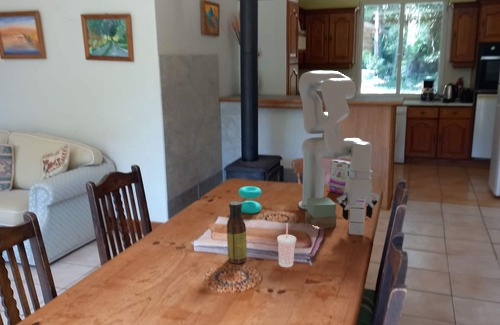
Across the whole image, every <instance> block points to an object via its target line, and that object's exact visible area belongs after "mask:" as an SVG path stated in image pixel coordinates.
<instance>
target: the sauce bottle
mask: <svg viewBox="0 0 500 325" xmlns="http://www.w3.org/2000/svg"><path fill="white" fill-rule="evenodd" d="M228 204H229V206H228V207H229V217H228V219H227V220H226V221H227V223H226V239H227V240H226V241H227V257H228V261H229V262H230V263H232V264H236V265H237V264H238V265H239V264H242V263H243V264H244V263H245V262H246V261H247V255H248V252H247V251H248V250H247V247H248V246H247V228H246V227H247V226H246V223H245V221H244V218H243V212H242V211H241V208H242V202H241V201H239V200H237V201H235V200H234V201H230V202H229V203H228Z"/></svg>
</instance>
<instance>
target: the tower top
mask: <svg viewBox="0 0 500 325" xmlns="http://www.w3.org/2000/svg"><path fill="white" fill-rule="evenodd" d="M336 210H337V204H336V203H335V202H334V201H333V200H332V199H331V198H330V197H325V196H324V198H307V210H306V211H308V212H309V213H310V214H311V215H312V217H334V216H335V214H336V215H337V212H336Z"/></svg>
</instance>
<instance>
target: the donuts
mask: <svg viewBox="0 0 500 325" xmlns="http://www.w3.org/2000/svg"><path fill="white" fill-rule="evenodd" d="M238 195H239V196H240V197H241V198H244V199H256V198H259V197H260V196H261V195H262V190H261V188H259V187H257V186H251V185H250V186H249V185H248V186H243V187H240V188H239V189H238ZM241 203H242V208H241V211H242V214H243V213H244V214H256V213H258V212H260V211H261V209H262V205H261V203H259V202H257V201H254V200H244V201H242V202H241Z"/></svg>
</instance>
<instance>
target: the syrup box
mask: <svg viewBox="0 0 500 325" xmlns="http://www.w3.org/2000/svg"><path fill="white" fill-rule="evenodd" d="M365 201H366V200H365V198H359V199H358V201H357V203H356V204H355V205H350V207H349V208H348V210H349V216H348V234H349V235H354V236H364V233H365V219H366V218H365V217H366V204H365Z"/></svg>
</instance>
